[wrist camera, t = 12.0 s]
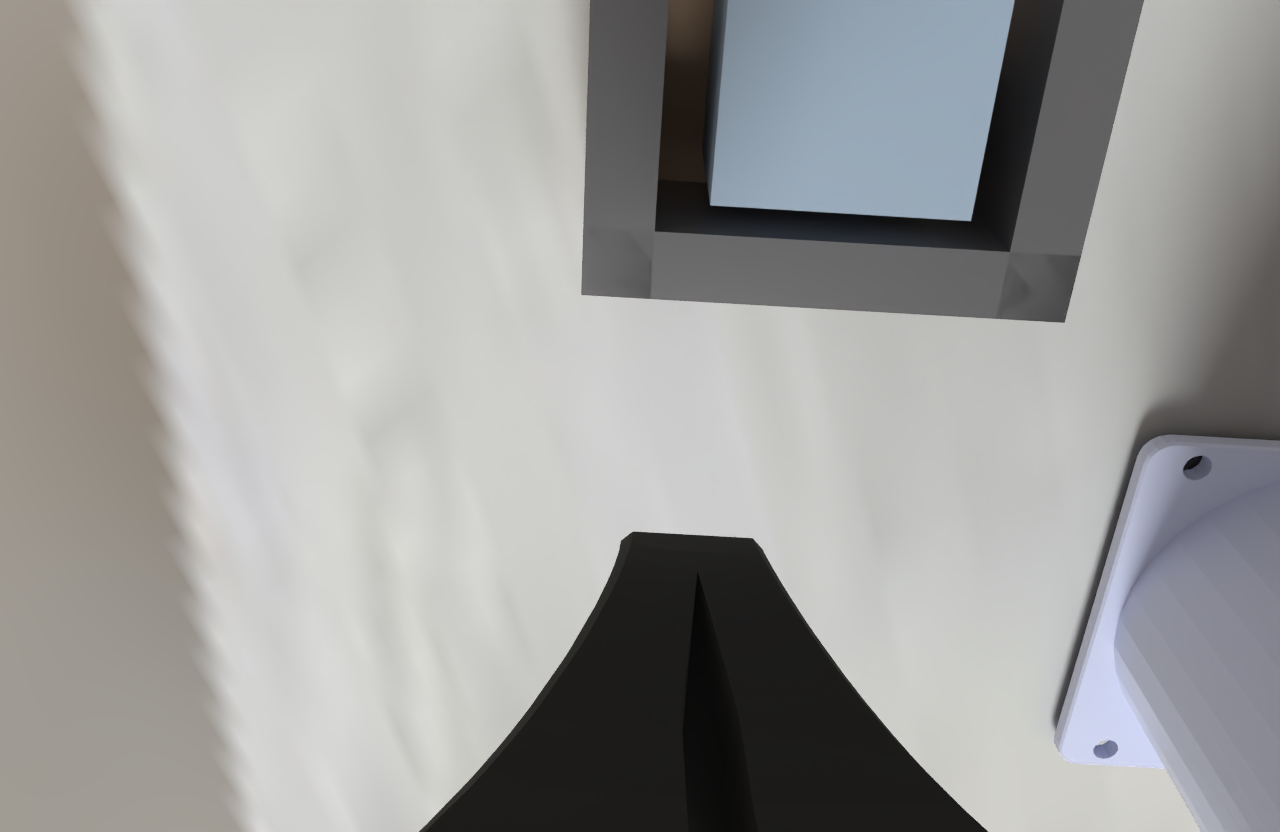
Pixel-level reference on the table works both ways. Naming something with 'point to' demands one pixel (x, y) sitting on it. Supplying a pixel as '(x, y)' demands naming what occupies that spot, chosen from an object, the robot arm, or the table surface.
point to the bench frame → (837, 242)
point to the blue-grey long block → (852, 104)
